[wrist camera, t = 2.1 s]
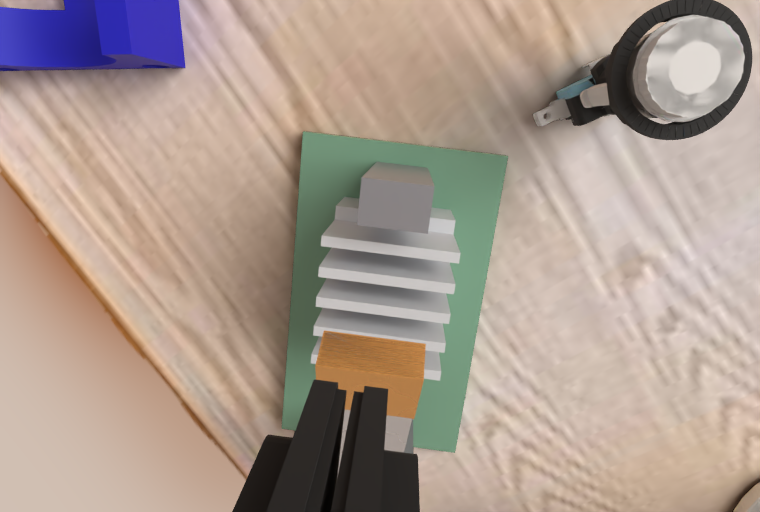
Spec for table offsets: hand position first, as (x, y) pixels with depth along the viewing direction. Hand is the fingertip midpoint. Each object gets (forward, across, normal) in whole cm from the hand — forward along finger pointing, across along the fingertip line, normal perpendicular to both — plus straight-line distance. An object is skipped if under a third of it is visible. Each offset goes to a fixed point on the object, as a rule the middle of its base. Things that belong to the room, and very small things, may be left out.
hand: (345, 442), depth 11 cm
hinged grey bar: (+7, 0, +6) cm, 9 cm away
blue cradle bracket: (+22, +19, -10) cm, 31 cm away
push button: (+21, -11, -10) cm, 26 cm away
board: (+21, -1, +4) cm, 21 cm away
